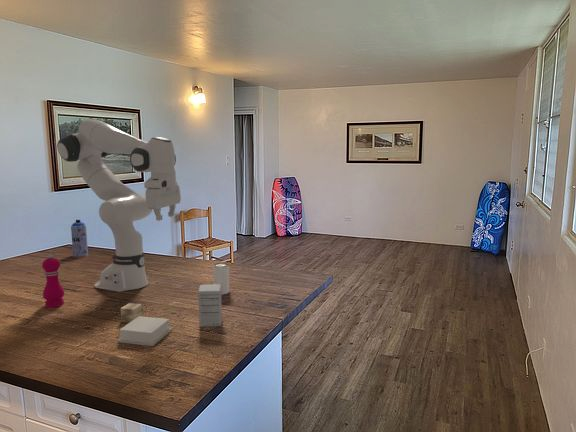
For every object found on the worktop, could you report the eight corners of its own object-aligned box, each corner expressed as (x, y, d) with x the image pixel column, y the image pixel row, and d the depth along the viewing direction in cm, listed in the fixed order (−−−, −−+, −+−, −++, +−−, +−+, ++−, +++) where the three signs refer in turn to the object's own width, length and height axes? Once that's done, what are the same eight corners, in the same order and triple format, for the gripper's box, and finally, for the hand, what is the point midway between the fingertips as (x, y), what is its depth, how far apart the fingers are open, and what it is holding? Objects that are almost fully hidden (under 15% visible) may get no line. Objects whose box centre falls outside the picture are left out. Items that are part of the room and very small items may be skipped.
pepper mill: (43, 309, 163) (38, 257, 160) (44, 303, 169) (39, 253, 166) (65, 306, 166) (61, 255, 163) (65, 300, 172) (61, 251, 169)
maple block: (121, 321, 152) (120, 308, 151) (129, 316, 156) (128, 303, 156) (134, 323, 150) (133, 309, 150) (142, 317, 155) (141, 304, 154)
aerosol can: (69, 256, 240) (66, 220, 237) (78, 253, 248) (76, 218, 245) (82, 257, 239) (79, 221, 236) (91, 253, 247) (88, 218, 244)
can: (226, 295, 178) (225, 267, 176) (211, 294, 179) (210, 266, 177) (231, 290, 184) (231, 263, 182) (217, 289, 185) (216, 262, 183)
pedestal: (117, 342, 136) (117, 330, 135) (139, 326, 147) (138, 315, 147) (152, 346, 133) (152, 333, 132) (171, 330, 145) (171, 318, 144)
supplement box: (201, 318, 154) (200, 284, 152) (222, 318, 155) (221, 283, 153) (198, 327, 147) (197, 291, 145) (221, 326, 148) (220, 290, 146)
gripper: (169, 179, 173) (170, 214, 175) (141, 183, 153) (143, 222, 155) (183, 179, 171) (185, 214, 174) (157, 183, 152) (160, 222, 154)
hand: (165, 218), depth 164 cm, fingers open, 8 cm apart
